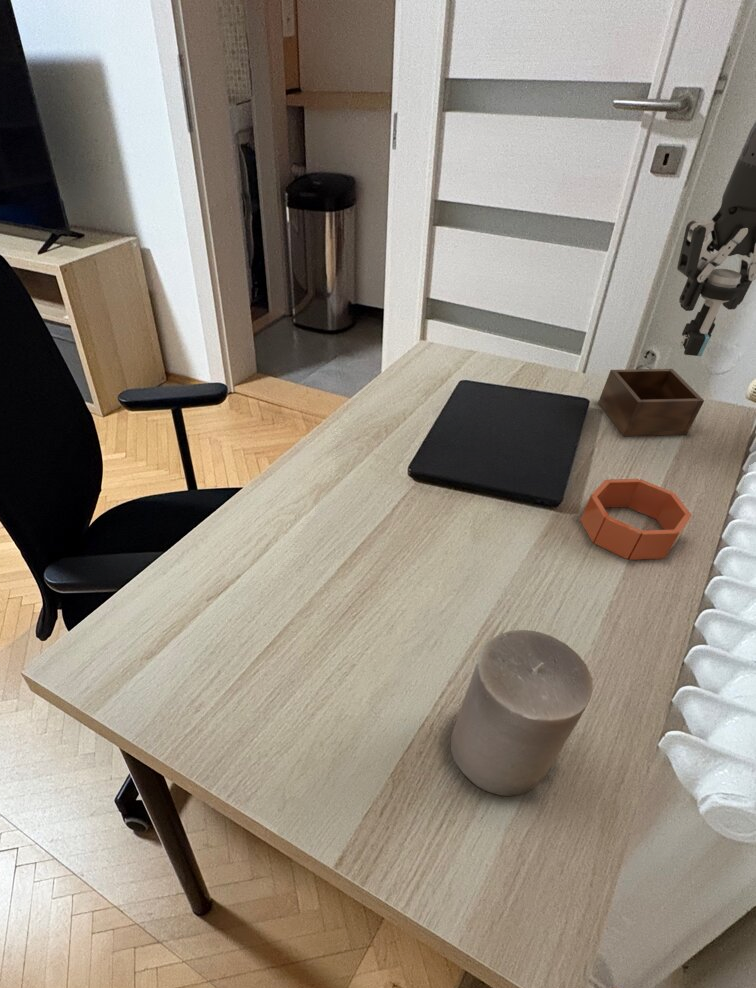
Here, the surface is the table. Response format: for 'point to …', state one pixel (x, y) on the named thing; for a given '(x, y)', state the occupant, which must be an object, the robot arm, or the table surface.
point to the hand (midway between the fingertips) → (707, 307)
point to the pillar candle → (519, 711)
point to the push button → (710, 309)
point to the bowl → (643, 500)
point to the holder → (649, 402)
